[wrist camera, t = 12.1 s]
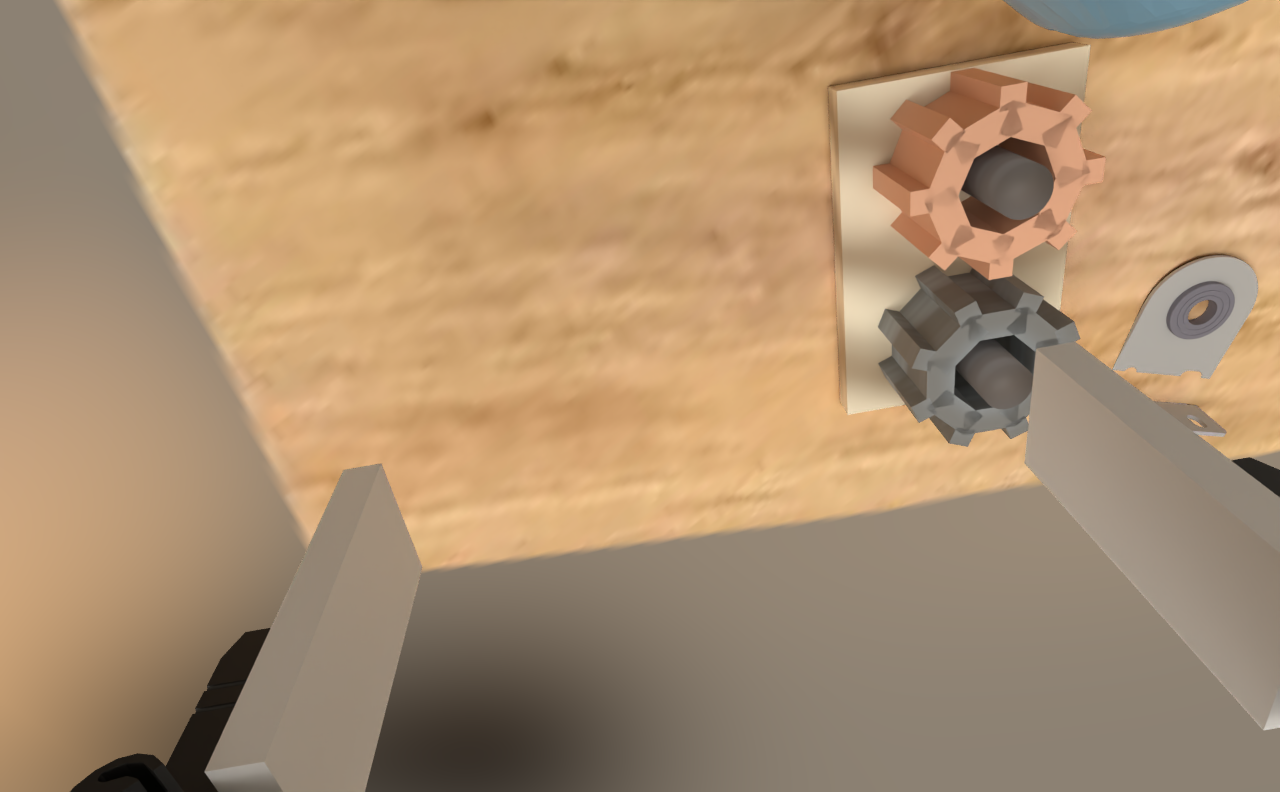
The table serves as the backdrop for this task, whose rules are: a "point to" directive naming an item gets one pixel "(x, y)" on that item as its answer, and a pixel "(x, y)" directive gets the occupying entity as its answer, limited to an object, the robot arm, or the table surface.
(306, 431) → the table surface
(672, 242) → the table surface
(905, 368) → the gear board
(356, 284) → the table surface
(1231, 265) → the bracket
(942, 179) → the gear
